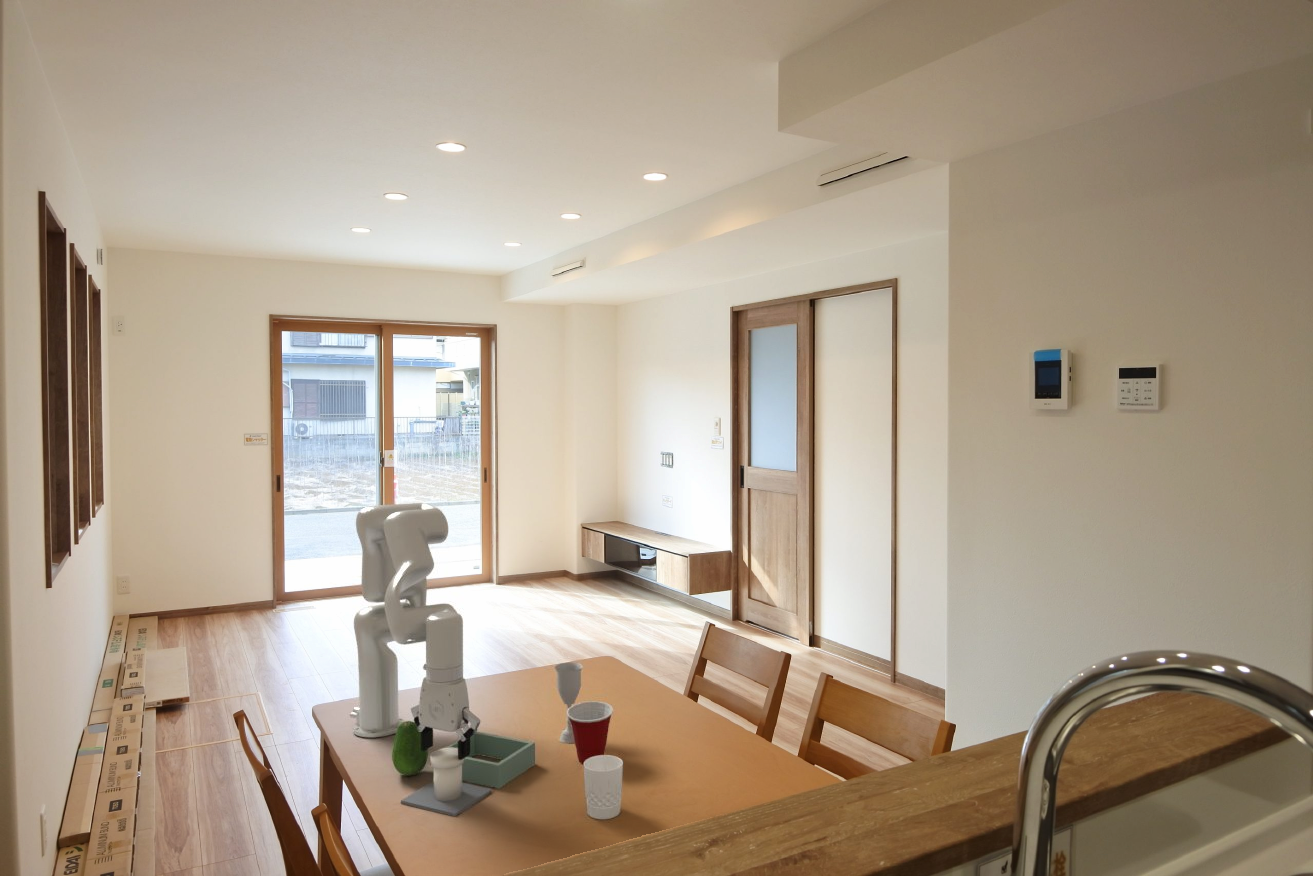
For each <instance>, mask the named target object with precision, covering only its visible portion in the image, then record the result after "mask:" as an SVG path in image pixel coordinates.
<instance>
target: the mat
mask: <svg viewBox="0 0 1313 876" xmlns="http://www.w3.org/2000/svg"><path fill="white" fill-rule="evenodd" d="M492 792H493V791H492V789H491V788H488V787H483V786H479V785H474V784H469V783H464V782H462V795H461V797H459V798H457V799H455V800H451V801H439V800H436V799H435V798H434V780H432V781H431V782H429V783H427V784H426V785H424V786H422V787H421V788H420V789H418V790H416V791H414V792H413V793H411V794H409V795H408V796H406V797H404V798H402V799H401V800H400V804H403V805H406V806H410V807H413V808H414V807H415V808H418V809H423V810H427V811H431V812H435V813H440V814H443V815H447V814H448V815H447V816H451V815H452V817H455V818H456V817H457V816H458V814H459V815H460V814H462V813H463V812H465V811H466V810H468V809H469V808H470V807H472V806H473V805H475V804H476V803H478V802H479V801H481V800H482V799H484V798H485V797H487V796H488V795H490V794H491V793H492ZM489 793H490V794H489ZM486 795H487V796H486Z"/></svg>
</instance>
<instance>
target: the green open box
mask: <svg viewBox="0 0 1313 876" xmlns="http://www.w3.org/2000/svg"><path fill="white" fill-rule="evenodd" d="M459 740H461V739H460V738H459V739H457V740H456V741H454V742H453V743H450V744H449V745H447V746H445V747H444V748H451V747H453V748H458V741H459ZM477 754H479V756H482V755H484V756H483V757H487V758H492V757H493V758H492V759H497V758H498V760H500V761H499V762H493V761H489V760H484V759H479V758H474V757H473V756H475V755H477ZM502 759H503V760H502ZM534 764H535V765H536V742H535V741H529V740H523V739H518V738H514V737H507V736H503V735H499V734H498V735H497V734H491V733H487V732H481V731H478V730H477V731H476V732H475V733H474V734H473V736H472V737H470V755H469V756H467V757H465V762H464V763H463V764H462V782H466V781H467V783H471V784H475V783H477V784H476V785H480V784H481V786H484V785H485V786H484V787H489V786H490V788H493V787H495V788H494V789H498V788H499V789H501V788H502V787H503V785H504V786H506V785H507V784H509V781H510V782H511V781H513V780H514V779H515V777H516V778H517V777H518V775H519V774H520V775H522V774H523V773H524V772H526V771H528V770H529V769H531V768H532V767H533V766H534ZM531 766H532V767H531ZM528 768H529V769H528ZM520 775H519V776H520ZM512 779H513V780H512ZM506 783H507V784H506ZM500 787H501V788H500Z"/></svg>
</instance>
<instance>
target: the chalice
mask: <svg viewBox="0 0 1313 876" xmlns="http://www.w3.org/2000/svg"><path fill="white" fill-rule="evenodd" d="M583 666H584V665H582V663H579V662H574V661H572V662H571V661H570V662H563V663H559V664H556V665H555V666H554V669H555V671H556V687H557V691H558V694H559V696H560V698H561V701H562V703H563V704H564V705H566V707H567V710H568V709H569V708H570V707H571V706H572V705H575V704H576V700H577V698H578V696H579V694H580V690H581V687H582V669H583ZM567 710H566V711H565V713H566V714H567ZM565 721H566V724H567V727H565V729H564V728H563V730H562V731H561V734H560V738H559V739H558V740H559V742H561V743H563V744H575V741H574V736H573V730H572V725H571V722H570V719H569V718H568V716H567V717H566V719H565Z"/></svg>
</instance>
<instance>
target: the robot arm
mask: <svg viewBox="0 0 1313 876" xmlns="http://www.w3.org/2000/svg"><path fill="white" fill-rule="evenodd" d="M355 527H356V533H357V536H358V539H359V542H360V545H361V550H362V554H361V555H362V556H361V559H362V560H361V593H362V597H363V599H364V600H365V601H366V602H368V603H371V604H372V603H373V604H376V603H378V604H376V605H371V606H370V605H369V606H367V607H364V608H362V609H360V610H358V612H357V613H356V614H355V616H354V618H353V629H354V634H355V640H356V646H357V647H356V649H357V655H358V657H357V659H358V660H357V663H358V697H359V698H358V700H359V703H358V704H359V705H358V706H356V707H354V708H353V709H352V712H350V714H349V717H350V718H352V719H356V723H355V724H354V725H353V727H352V733H353V734H354V735H355V736H359V737H361V738H380V737H388V736H391V735H394V734H396V731H397V728H398V726H399V725H400V724H401V723H403V722H406V721H405V719H404V718H402V717H400V716H399V665H398V664H399V661H398V657H397V655H396V653H395V652H394V651H393V650H392V649H391V648H390V647H389V646H388V643H392V642H396V643H397V644H400V645H403V646H404V645H411V644H419V643H425V663H424V664H423V667H422V669H423V670H424V671H426V672H425V677H424V678H423V679H422V683H421V687H420V693H419V703H418V704H417V705H415V706H413V707H411V708H410V713H411V714H412V717H413V722H415V723H416V725H417V726H418V731H419V732H421V751H425V750H427V749H428V750H429V749H430V748H433V746H434V730H439V731H443V732H447V733H449V732H450V733H454V732H455V733H456V735H457V736H458V737H459V739H461V740H459V739H458V740H459V741H458V740H457V741H458V759H459V760H462V759H464V758H465V757H467V756H469V755H470V737H472V736H473V734H474V733H475V732H476V731H477V732H478V728H479V726H480V724H481V722H482V721H481V719H480V718H479V717H477V715H475V714H474V713H473V712H472V711H471V710H470V701H469V692H468V687H467V686H468V685H467V681H466V678H464V620H463V617H462V614H460V613H459V612H457V610H456V609H455V608H454V606H453V605H451V604H450V603H437V604H428V605H427V591H428V587H427V586H428V584H427V583H428V581H427V577H428V576H429V575H431V573H432V572H433V570H434V567H435V562H434V559H433V556H432V552H431V550H430V546H429V545H436V544H438V545H439V544H442V543H443V542H445V541H446V540H447V538H448V536H449V524H448V520H447V517H446V515H445V514H444V512H443V511H442V510H441V509H440V508H438V507H435V506H433V505H430V504H428V503H425V502H412V503H398V504H397V503H396V504H380V505H379V504H377V505H372V506H366V507H364V508H361V509H360V510H359V511H358V513H357V515H356V519H355ZM401 601H402V602H401ZM379 603H380V604H379ZM381 603H383V604H381ZM469 723H470V725H469Z"/></svg>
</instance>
